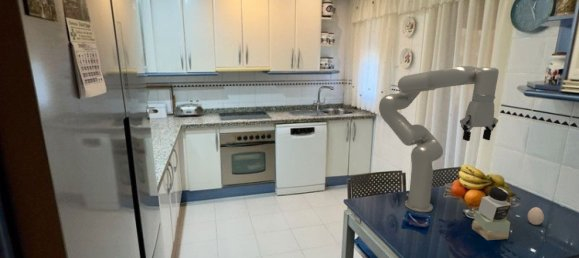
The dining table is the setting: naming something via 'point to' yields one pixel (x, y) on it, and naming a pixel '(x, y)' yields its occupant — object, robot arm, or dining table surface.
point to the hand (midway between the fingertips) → (476, 139)
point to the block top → (492, 223)
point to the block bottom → (489, 233)
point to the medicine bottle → (495, 204)
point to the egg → (535, 216)
